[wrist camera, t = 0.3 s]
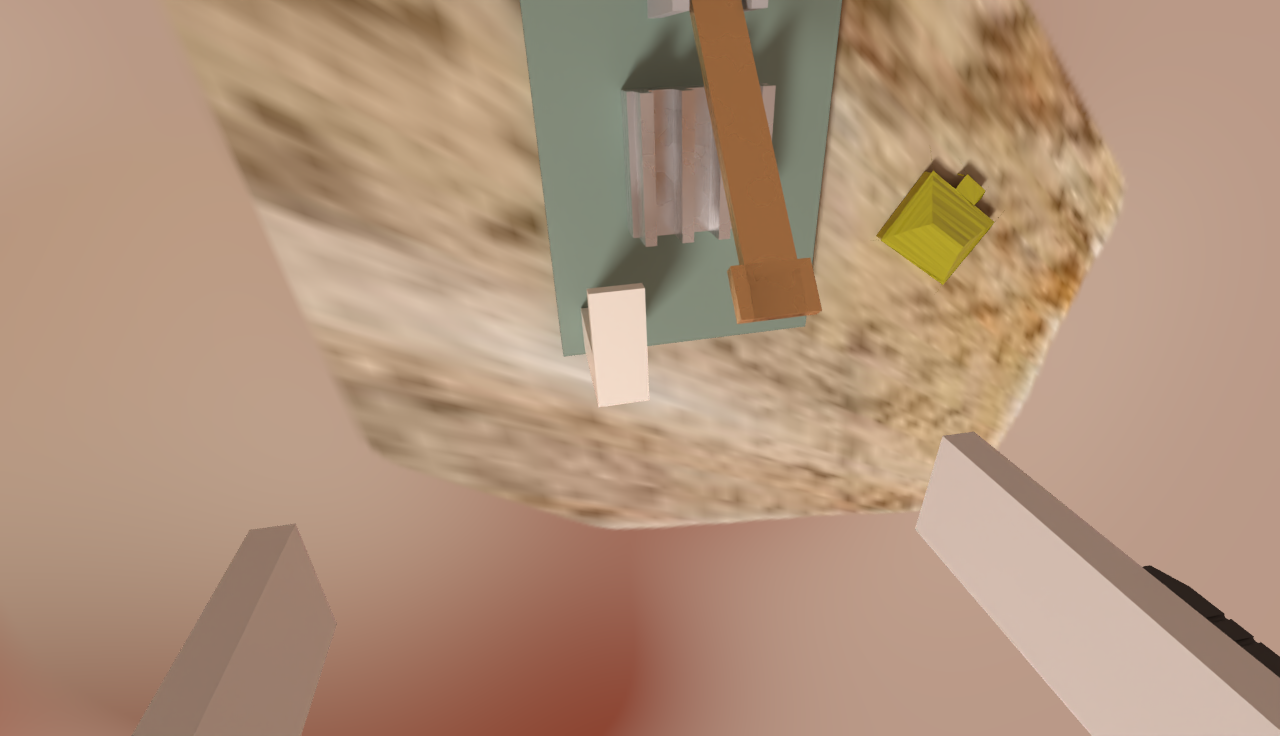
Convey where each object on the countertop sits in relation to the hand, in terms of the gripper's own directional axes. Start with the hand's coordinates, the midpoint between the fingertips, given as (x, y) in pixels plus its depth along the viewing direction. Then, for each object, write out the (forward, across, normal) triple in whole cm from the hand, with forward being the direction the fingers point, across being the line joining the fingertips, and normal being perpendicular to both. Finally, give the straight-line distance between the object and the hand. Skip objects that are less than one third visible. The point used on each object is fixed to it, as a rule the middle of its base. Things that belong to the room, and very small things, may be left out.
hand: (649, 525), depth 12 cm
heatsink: (+27, +8, +3) cm, 28 cm away
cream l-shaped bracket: (+27, +2, -5) cm, 27 cm away
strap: (+18, +8, +5) cm, 20 cm away
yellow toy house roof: (+29, +27, -2) cm, 40 cm away
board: (+28, +8, +3) cm, 29 cm away
